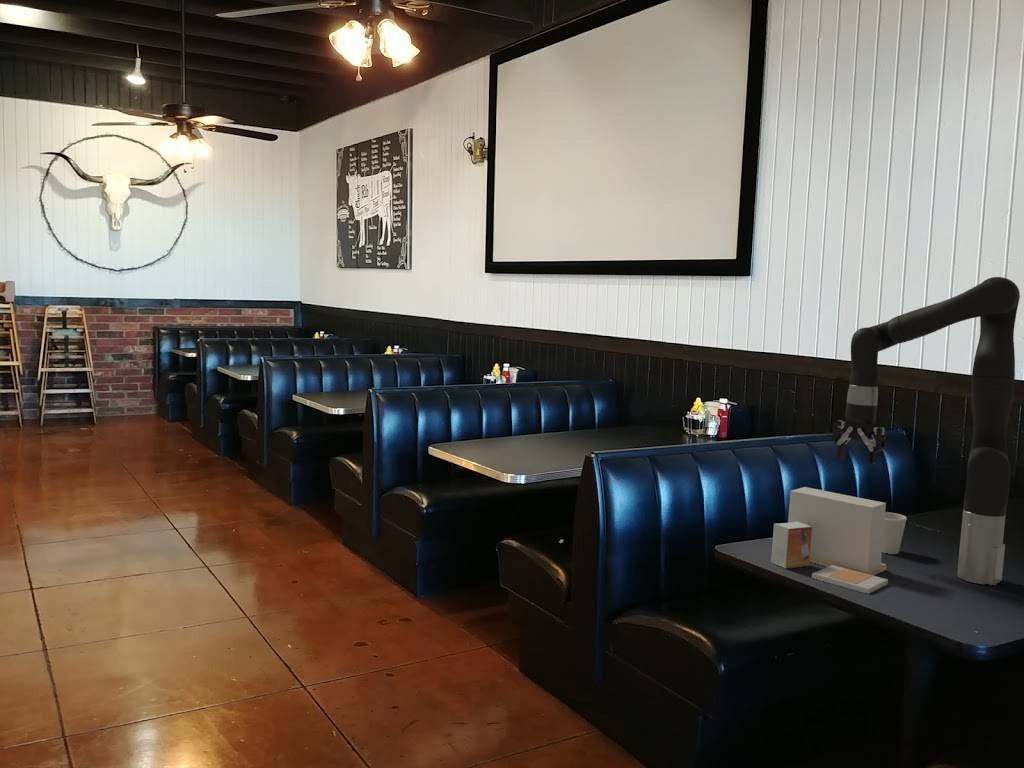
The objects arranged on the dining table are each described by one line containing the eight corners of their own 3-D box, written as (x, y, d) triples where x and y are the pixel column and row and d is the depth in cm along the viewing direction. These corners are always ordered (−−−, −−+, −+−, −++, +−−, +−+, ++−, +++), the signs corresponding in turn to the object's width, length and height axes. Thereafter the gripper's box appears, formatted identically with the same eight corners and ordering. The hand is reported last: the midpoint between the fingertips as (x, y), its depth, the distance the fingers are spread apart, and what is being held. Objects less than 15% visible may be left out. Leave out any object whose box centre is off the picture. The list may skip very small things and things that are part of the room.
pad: (887, 584, 209) (888, 579, 209) (868, 593, 201) (868, 588, 201) (832, 569, 219) (832, 564, 219) (811, 578, 211) (812, 573, 211)
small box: (785, 569, 218) (788, 528, 216) (770, 562, 223) (773, 523, 222) (809, 566, 221) (812, 526, 220) (794, 560, 226) (797, 520, 225)
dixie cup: (897, 547, 241) (900, 512, 240) (908, 556, 233) (911, 520, 232) (867, 545, 242) (870, 511, 241) (876, 554, 234) (879, 518, 233)
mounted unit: (885, 570, 220) (891, 503, 218) (868, 578, 213) (874, 509, 211) (798, 547, 237) (803, 485, 235) (780, 554, 230) (785, 490, 228)
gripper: (894, 405, 225) (888, 466, 227) (846, 398, 236) (840, 455, 238) (878, 406, 221) (872, 468, 222) (830, 399, 232) (824, 458, 234)
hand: (855, 462), depth 230 cm, fingers open, 8 cm apart
